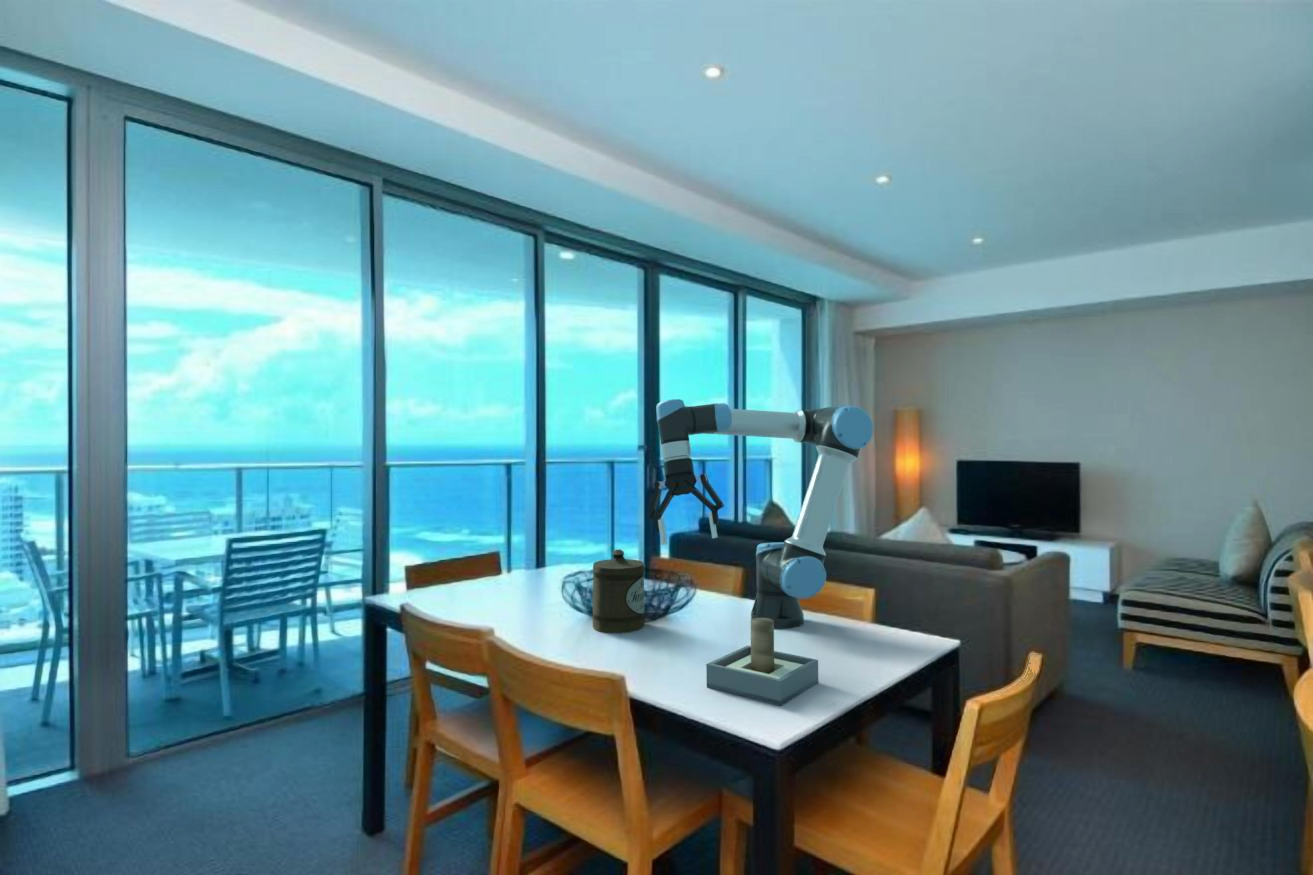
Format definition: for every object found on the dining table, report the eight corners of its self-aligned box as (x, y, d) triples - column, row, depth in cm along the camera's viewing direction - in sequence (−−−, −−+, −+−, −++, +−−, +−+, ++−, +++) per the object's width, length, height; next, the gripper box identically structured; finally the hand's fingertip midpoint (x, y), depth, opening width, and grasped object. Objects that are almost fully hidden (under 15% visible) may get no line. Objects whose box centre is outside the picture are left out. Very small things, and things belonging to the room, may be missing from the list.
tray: (747, 666, 168) (747, 645, 168) (818, 682, 157) (818, 659, 157) (706, 687, 155) (706, 664, 155) (780, 706, 144) (780, 681, 144)
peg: (758, 674, 159) (758, 616, 159) (778, 679, 156) (777, 619, 156) (746, 680, 155) (746, 621, 155) (767, 685, 152) (766, 624, 152)
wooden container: (643, 633, 197) (642, 553, 197) (590, 633, 197) (589, 554, 197) (645, 619, 212) (644, 545, 212) (595, 619, 212) (594, 545, 212)
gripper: (727, 452, 185) (739, 533, 183) (637, 467, 193) (648, 545, 190) (720, 450, 178) (733, 535, 176) (627, 466, 186) (639, 548, 183)
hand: (689, 541), depth 183 cm, fingers open, 13 cm apart
